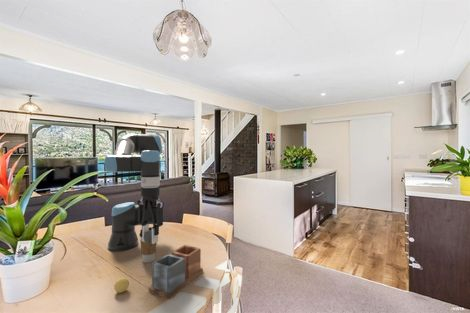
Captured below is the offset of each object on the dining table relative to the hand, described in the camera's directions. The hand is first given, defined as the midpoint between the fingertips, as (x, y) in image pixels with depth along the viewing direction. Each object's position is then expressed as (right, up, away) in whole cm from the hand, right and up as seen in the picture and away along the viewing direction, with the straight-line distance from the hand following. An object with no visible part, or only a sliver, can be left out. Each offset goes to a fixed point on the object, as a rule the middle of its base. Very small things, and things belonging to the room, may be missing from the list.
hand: (150, 241), depth 96 cm
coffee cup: (-6, -14, +14) cm, 21 cm away
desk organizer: (+13, -14, -4) cm, 20 cm away
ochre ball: (-6, -12, -12) cm, 18 cm away
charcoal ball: (0, +2, 0) cm, 2 cm away
